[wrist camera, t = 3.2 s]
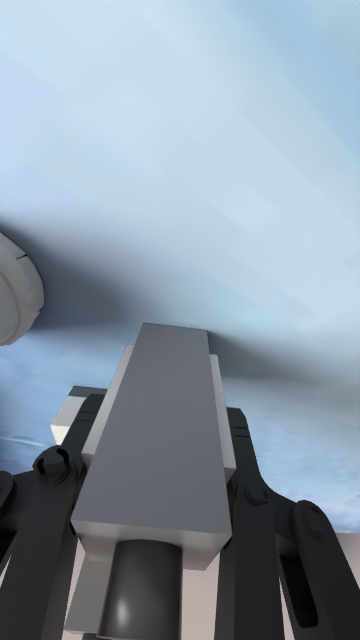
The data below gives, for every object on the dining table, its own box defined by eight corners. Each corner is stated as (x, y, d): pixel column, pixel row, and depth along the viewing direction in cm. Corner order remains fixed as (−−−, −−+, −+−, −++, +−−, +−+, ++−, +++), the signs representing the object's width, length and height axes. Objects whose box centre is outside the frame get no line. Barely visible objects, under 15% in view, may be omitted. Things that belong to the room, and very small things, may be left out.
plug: (206, 330, 14) (245, 644, 4) (196, 375, 16) (207, 649, 7) (142, 322, 14) (30, 626, 4) (142, 369, 16) (68, 637, 6)
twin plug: (150, 470, 23) (120, 681, 13) (149, 487, 25) (123, 678, 15) (110, 466, 23) (49, 676, 13) (113, 483, 25) (62, 673, 15)
